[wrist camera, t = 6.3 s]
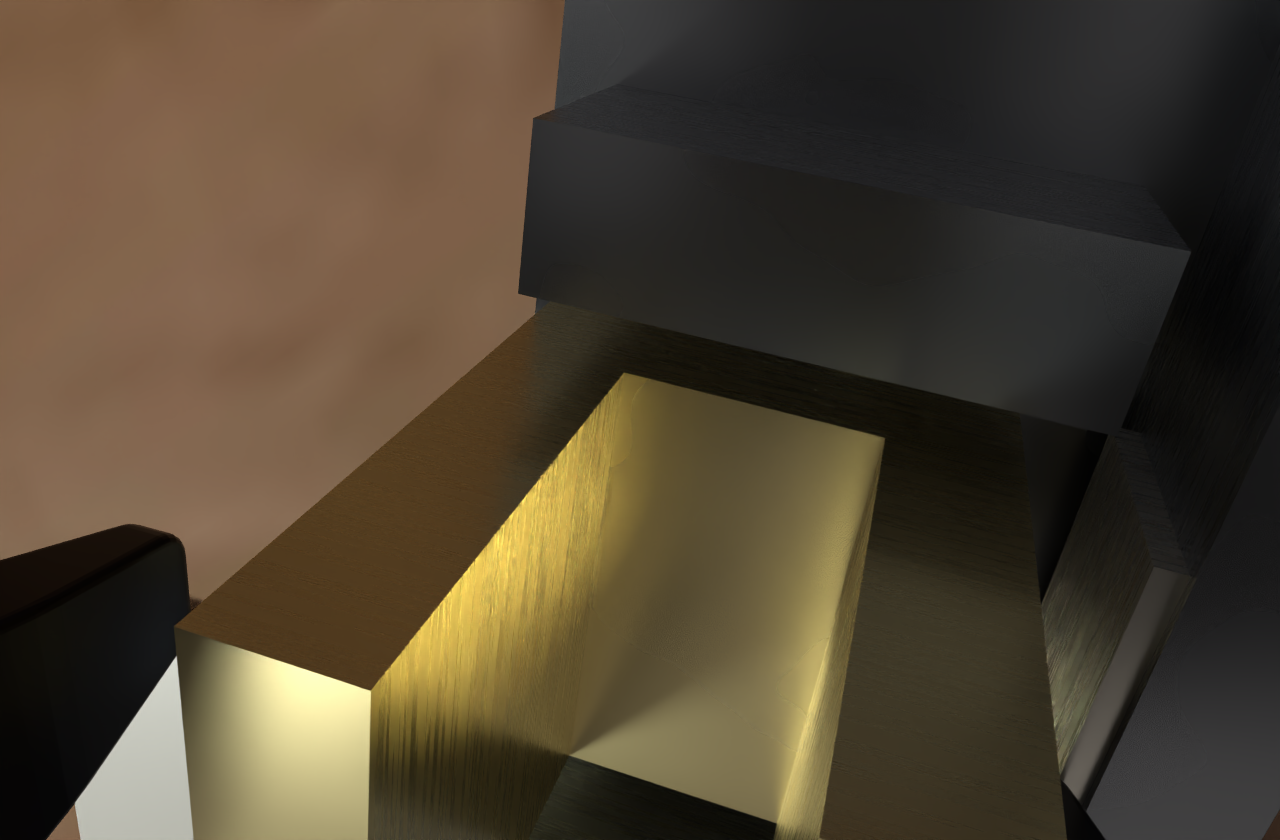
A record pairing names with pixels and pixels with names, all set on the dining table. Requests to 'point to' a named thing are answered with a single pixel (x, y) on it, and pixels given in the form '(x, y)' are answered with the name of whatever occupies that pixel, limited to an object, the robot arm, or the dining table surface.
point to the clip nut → (640, 608)
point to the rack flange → (979, 319)
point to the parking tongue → (143, 776)
